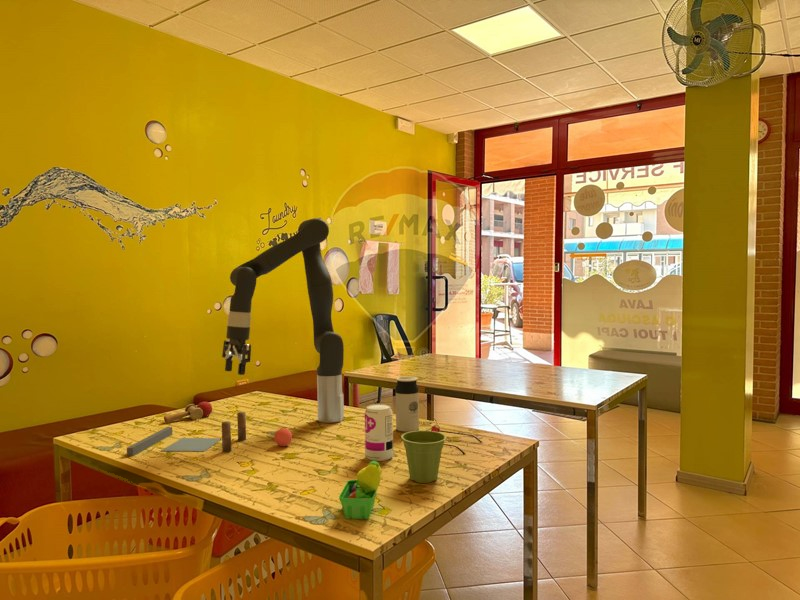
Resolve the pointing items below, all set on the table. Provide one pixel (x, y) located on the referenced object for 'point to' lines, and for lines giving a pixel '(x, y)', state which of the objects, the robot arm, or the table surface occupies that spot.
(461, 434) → the glasses
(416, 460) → the plant pot
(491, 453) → the table surface
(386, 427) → the supplement can
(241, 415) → the gate post
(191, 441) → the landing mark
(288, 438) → the ball
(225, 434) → the gate post
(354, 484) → the fruit basket
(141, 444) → the wall
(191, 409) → the kendama
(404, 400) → the travel mug
